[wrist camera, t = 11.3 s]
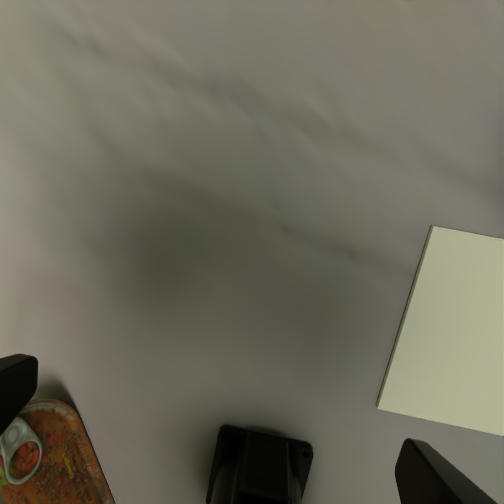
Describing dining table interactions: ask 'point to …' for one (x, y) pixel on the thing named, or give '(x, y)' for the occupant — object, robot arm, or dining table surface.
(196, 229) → the dining table surface
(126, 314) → the dining table surface
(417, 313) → the cream mat
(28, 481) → the tin
